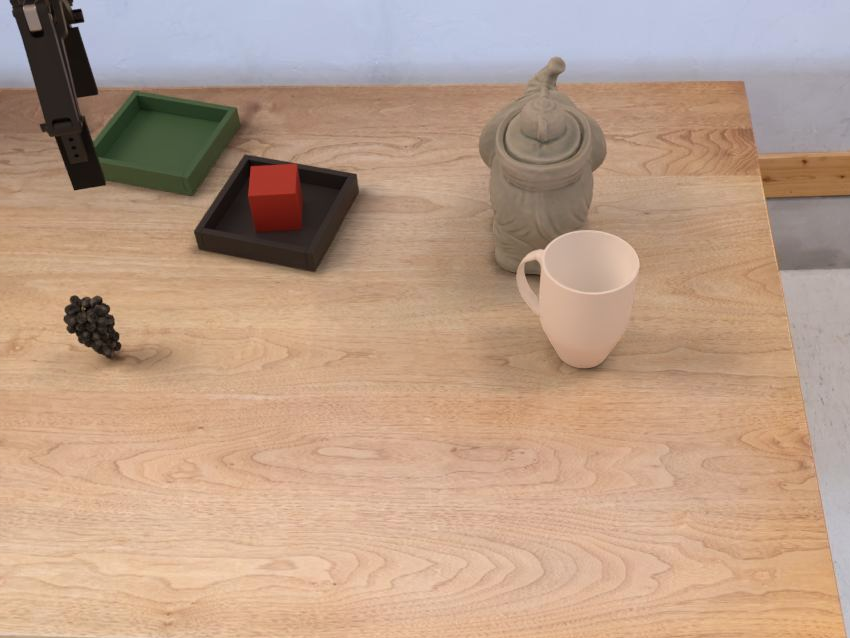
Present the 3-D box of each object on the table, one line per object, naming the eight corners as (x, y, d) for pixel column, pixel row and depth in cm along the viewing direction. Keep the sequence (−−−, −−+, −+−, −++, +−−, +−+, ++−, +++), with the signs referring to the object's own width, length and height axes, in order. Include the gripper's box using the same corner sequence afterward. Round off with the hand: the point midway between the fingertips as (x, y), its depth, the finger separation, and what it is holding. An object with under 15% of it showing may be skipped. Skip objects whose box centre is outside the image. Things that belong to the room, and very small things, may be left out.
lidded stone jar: (536, 168, 128) (543, 16, 113) (642, 226, 122) (664, 73, 107) (437, 240, 121) (430, 88, 106) (544, 306, 114) (552, 154, 100)
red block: (255, 232, 122) (248, 195, 118) (258, 202, 125) (250, 166, 121) (301, 229, 122) (295, 193, 118) (302, 200, 125) (296, 163, 121)
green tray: (85, 176, 129) (79, 158, 127) (139, 108, 137) (133, 89, 135) (192, 196, 127) (188, 177, 125) (241, 125, 135) (237, 107, 132)
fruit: (82, 378, 110) (57, 320, 104) (81, 346, 113) (57, 288, 106) (129, 369, 110) (108, 312, 104) (127, 338, 113) (106, 280, 107)
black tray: (198, 249, 121) (193, 231, 119) (248, 172, 129) (244, 153, 127) (315, 272, 118) (312, 253, 116) (359, 192, 126) (356, 173, 124)
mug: (642, 340, 111) (656, 248, 102) (600, 397, 107) (611, 307, 97) (539, 297, 115) (544, 205, 106) (495, 351, 111) (496, 260, 101)
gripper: (62, -23, 76) (138, 219, 93) (54, -178, 91) (120, 54, 108) (-51, -6, 75) (46, 235, 92) (-41, -166, 90) (41, 67, 107)
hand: (86, 138), depth 100 cm, fingers open, 13 cm apart
